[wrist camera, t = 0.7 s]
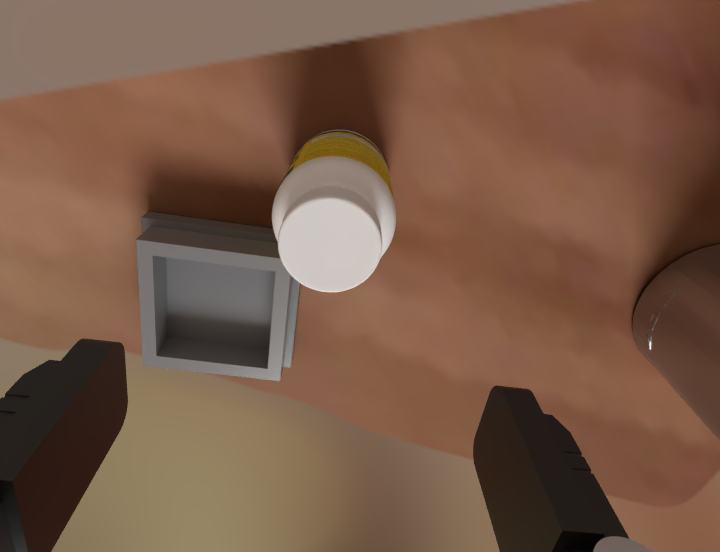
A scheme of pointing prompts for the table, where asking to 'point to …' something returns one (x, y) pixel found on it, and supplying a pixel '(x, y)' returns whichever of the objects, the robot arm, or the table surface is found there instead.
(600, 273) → the table surface
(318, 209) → the supplement bottle
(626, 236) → the table surface
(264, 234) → the square open box
